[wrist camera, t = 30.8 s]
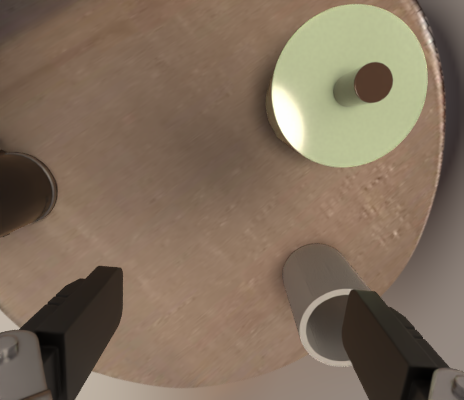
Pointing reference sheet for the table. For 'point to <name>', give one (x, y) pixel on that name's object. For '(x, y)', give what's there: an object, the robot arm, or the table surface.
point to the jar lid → (349, 85)
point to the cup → (320, 299)
